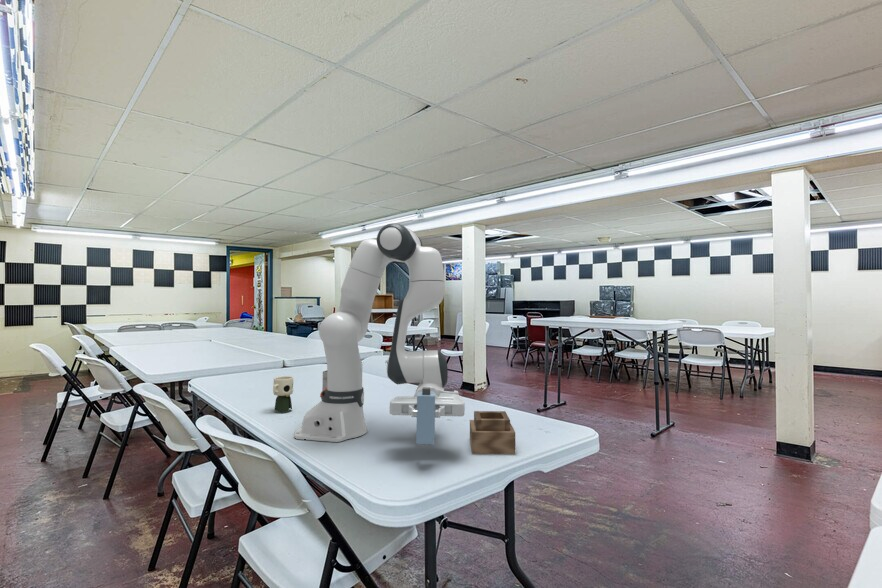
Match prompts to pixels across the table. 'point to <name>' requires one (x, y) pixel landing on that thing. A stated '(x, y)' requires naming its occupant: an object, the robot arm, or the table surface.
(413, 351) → the robot arm
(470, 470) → the table surface
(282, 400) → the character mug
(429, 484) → the table surface
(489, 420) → the socket block
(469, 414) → the table surface
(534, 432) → the table surface
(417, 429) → the plug block
